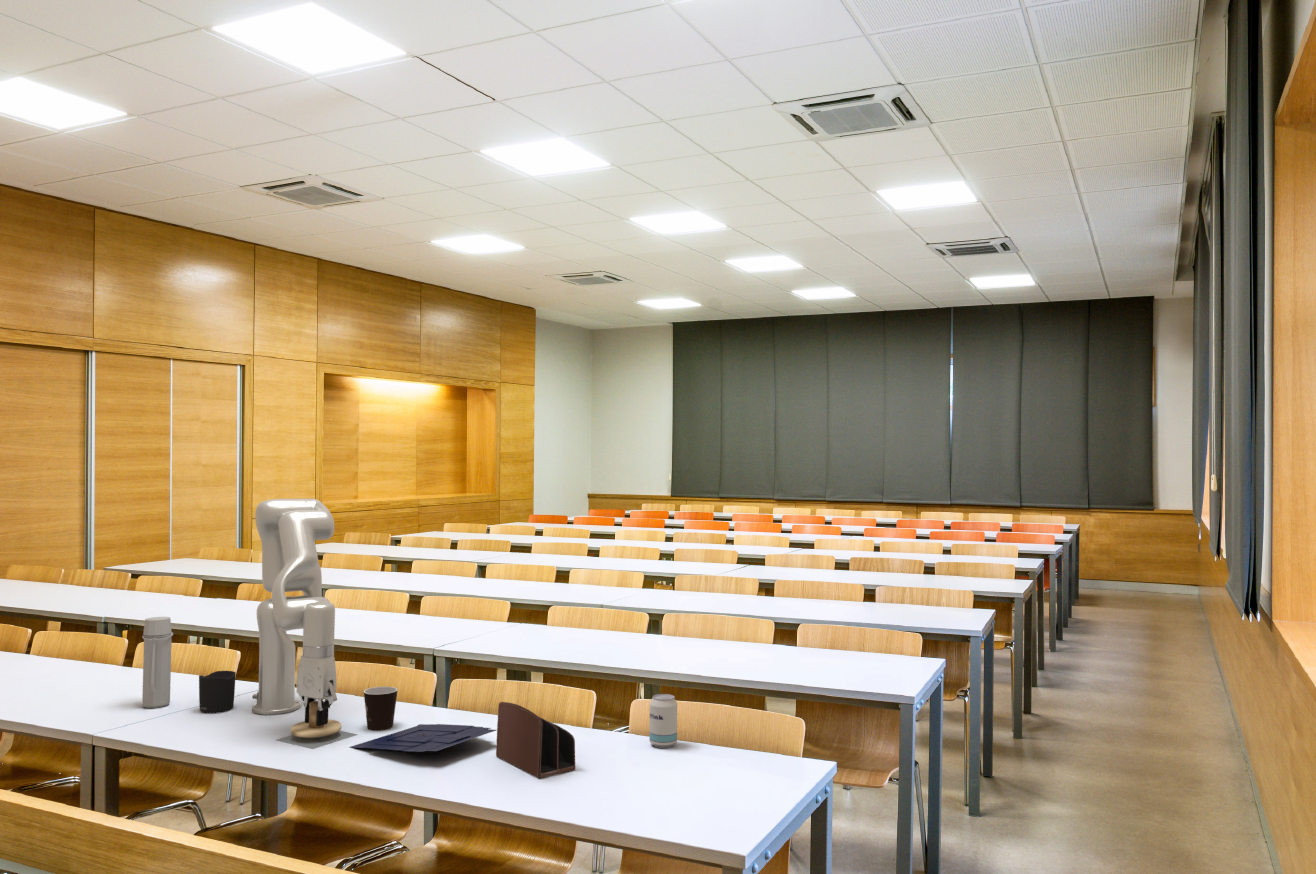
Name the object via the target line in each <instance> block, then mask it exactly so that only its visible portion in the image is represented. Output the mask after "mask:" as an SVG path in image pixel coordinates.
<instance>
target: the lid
mask: <svg viewBox="0 0 1316 874" xmlns="http://www.w3.org/2000/svg"><path fill="white" fill-rule="evenodd" d="M324 702H325V700H323V703H324ZM317 710H319V709H318V700H316V701H312V702H310V703H309V723H305V720H304V721H303V720H302V721H300V722H297V723H295V724H293V725H292V726H291V727H290V735H294V736H297V737H306V738H312V737H322V736H328V735H332V734H334V733H337V732H339V731H342V723H341V722H340V721H339V720H335V719H330V718H328V723H327V724H325V725H322V726H316V714H317Z"/></svg>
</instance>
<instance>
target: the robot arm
mask: <svg viewBox="0 0 1316 874" xmlns="http://www.w3.org/2000/svg"><path fill="white" fill-rule="evenodd" d="M254 520H255V521H254V522H255V526H256V530H257V533H258V536H259V539H260V542H261V559H262V560H261V579H262V586H263V588H264V590H265V591H266V592H269V593H271V597H270V598H267V599H264V600H263V601H261V602H260V603H259V604H258V606H257V609H256V620H257V628H258V640H259V643H258V645H259V646H258V647H259V648H258V649H259V651H258V652H259V654H258V655H259V659H258V663H259V664H258V691H257V692H256V693H253V695H252V698H253V700H254V699H255V700H256V704H254V705H253V706H251V707H252V709H251V710H252V713H254V714H257V715H280V714H286V713H290V712H291V713H292V712H294V711H296V710H298V709H299V708H300V707H301V702H300V701H299V700H295V693H297V694H298V696H300V698H301V700H302V702H303V707H304V721H305V723H309V703H310V702H312V701H318V709H319V710H317V714H316V726H322V725H325V724H327V723H328V719H329V709H330V708H331V705H333V704H334V703H335V702H337V700H338V697H337V694H336V692H337V668H336V660H335V659H336V658H335V625H336V624H335V623H336V607H335V605H334V603H332V602H330V600H329V599H328V598H326V597H323V577H322V568H321V565H320V563H319V556H318V551H317V547H316V545H317V544H316V542H315V541H324V540H325V541H326V540H329V539H331V538H332V537H333V535H334V534H335V527H336V526H335V520H334V517H333V514H332V513H331V511H330V510H329V509H328V507H327V506H326V505H324V504H323V502H322V501H320V500H318V499H316V498H273V499H265V500H263V501H260V502H259V503H258V504H257V506H256V508H255V515H254ZM290 592H302V594H303V595H294V596H293V595H292V596H289V595H287V596H286V593H290ZM301 629H303V631H302V655H301V656H300V659H299V663H298V667H297V668H298V669H297V676H296V645H295V642H294V640H293V639H292V638H291V637H290V636H289V635H288V633H287V632H288V631H294V630H301ZM295 684H296V685H295ZM295 687H296V688H295ZM295 690H296V692H295ZM323 701H324V703H323Z"/></svg>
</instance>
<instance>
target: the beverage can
mask: <svg viewBox="0 0 1316 874" xmlns="http://www.w3.org/2000/svg"><path fill="white" fill-rule="evenodd" d="M648 741H649V742H650V744H652V745H653V746H654V747H655V748H660V749H668V748H672V747H673V746H674V745H675V744H676V743H678V702H677V700H676V699H675V695H673V694H668V693H658V694H654V695H652V698H651V700H650V702H649V739H648Z"/></svg>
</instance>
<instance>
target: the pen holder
mask: <svg viewBox="0 0 1316 874" xmlns="http://www.w3.org/2000/svg"><path fill="white" fill-rule="evenodd" d="M236 674H237V673H236V671H234V670H217V671H213V672H212V673H210V674H207V675H198V695H199V696H198V697H199V699H198V701H199V702H198V703H199V712H201V713H202V714H221V713H227V712H229V711H231V710H232V709H233V708H234V706H235V704H234V702H235V693H236V691H235V690H236V677H237V676H236Z"/></svg>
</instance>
